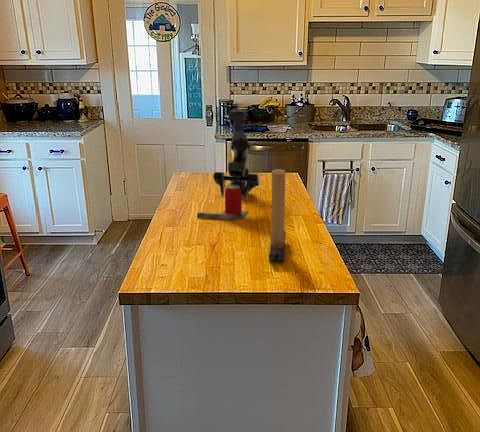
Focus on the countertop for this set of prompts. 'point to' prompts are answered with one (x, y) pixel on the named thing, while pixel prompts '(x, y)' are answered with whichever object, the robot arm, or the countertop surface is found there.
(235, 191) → the beverage can
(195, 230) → the countertop surface
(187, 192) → the countertop surface
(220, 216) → the rail
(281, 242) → the hammer
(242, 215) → the end pad
